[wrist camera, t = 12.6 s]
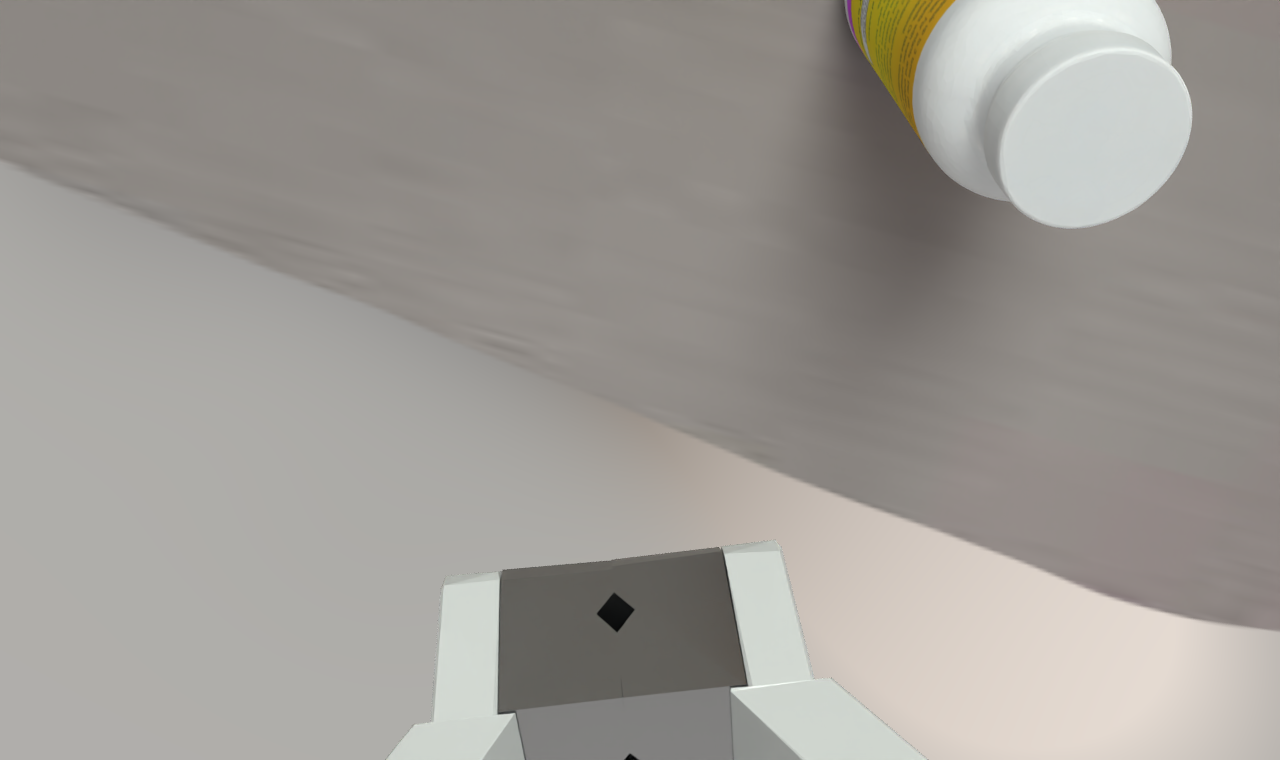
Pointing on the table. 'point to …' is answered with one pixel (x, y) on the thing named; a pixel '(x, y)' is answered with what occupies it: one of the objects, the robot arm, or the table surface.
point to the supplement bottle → (1036, 97)
